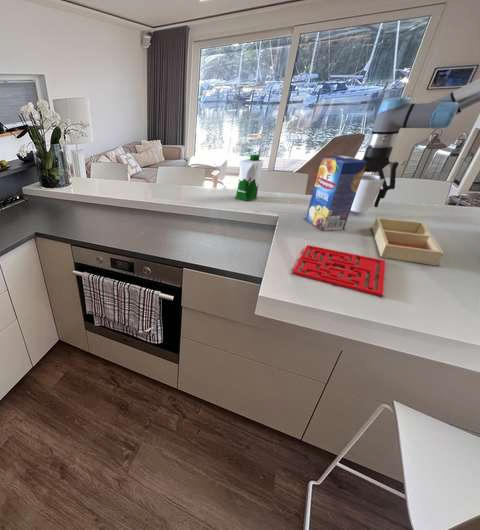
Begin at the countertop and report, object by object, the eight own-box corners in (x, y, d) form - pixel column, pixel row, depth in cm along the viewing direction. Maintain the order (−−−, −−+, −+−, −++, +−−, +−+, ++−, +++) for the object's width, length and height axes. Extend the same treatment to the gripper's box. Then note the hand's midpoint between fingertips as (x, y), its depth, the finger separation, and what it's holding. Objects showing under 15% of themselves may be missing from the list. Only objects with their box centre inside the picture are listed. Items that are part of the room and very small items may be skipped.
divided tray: (417, 233, 98) (423, 222, 96) (436, 265, 81) (443, 252, 79) (371, 228, 104) (376, 217, 102) (380, 257, 87) (385, 245, 85)
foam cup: (344, 204, 123) (354, 174, 117) (372, 207, 118) (384, 175, 112) (343, 211, 117) (353, 179, 110) (372, 214, 112) (385, 181, 105)
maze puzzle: (306, 246, 96) (307, 244, 95) (384, 262, 84) (385, 260, 84) (292, 273, 83) (292, 271, 82) (381, 296, 71) (382, 294, 71)
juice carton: (343, 229, 105) (367, 161, 93) (322, 230, 106) (343, 163, 94) (324, 217, 116) (343, 155, 103) (305, 218, 116) (322, 156, 104)
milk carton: (259, 198, 142) (266, 155, 132) (247, 202, 138) (254, 158, 128) (244, 194, 148) (250, 153, 138) (232, 198, 144) (237, 156, 134)
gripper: (343, 147, 108) (327, 205, 119) (423, 147, 97) (397, 210, 108) (342, 144, 113) (327, 199, 124) (418, 144, 102) (393, 204, 114)
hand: (359, 204), depth 116 cm, fingers closed on foam cup, 9 cm apart
